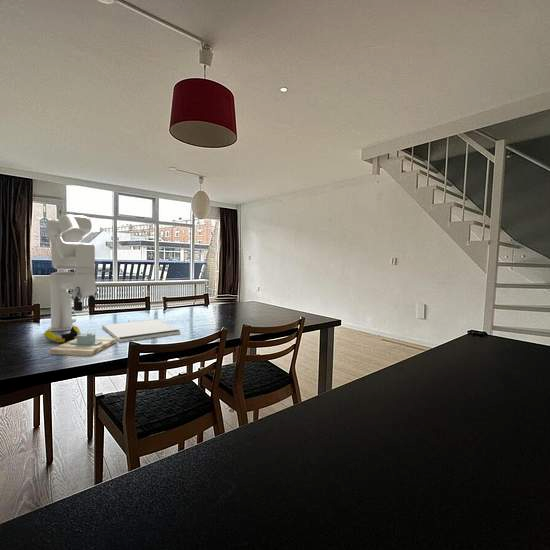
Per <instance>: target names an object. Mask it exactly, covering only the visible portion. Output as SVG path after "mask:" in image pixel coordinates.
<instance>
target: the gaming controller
mask: <svg viewBox="0 0 550 550" xmlns="http://www.w3.org/2000/svg"><path fill="white" fill-rule="evenodd" d="M80 334H82V333H81V331H80V329H79V327H78V326H76V325H75V326H73V327H72V328H71V330H70V331H69V332H68V333H62V334H58V335H57V334H55V333H54V332H53V331H50V330H48V329H47V330H45V331H44V335H43V336H44V337H45V339H47V340H49V341H50V342H53V343H55V344H61V343H66V342H69V341H71V340H74V339H76V338H77V336H78V335H80ZM60 342H61V343H60Z"/></svg>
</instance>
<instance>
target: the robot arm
mask: <svg viewBox="0 0 550 550" xmlns="http://www.w3.org/2000/svg"><path fill="white" fill-rule="evenodd" d="M92 226H93V225H92V221H91V219H90V218H89V217H87V216H85V215H76V214H75V215H74V214H62V215H60V216H59V217H58V219H50V220H48V221H47V222H46V224H45V227H46V229H45V230H46V234H47V237H48V239H49V241H50V246H51V251H50V254H51V256H50V257H51V265H52V268H54V269H55V270H74V271H55V272H52V273H50V274H49V276H48V285H49V289H50V290H49V291H50V326H48V327H47V330H50V331H51V332H63V331H64V332H65V331H69V330H70V331H71V328H72V327H73V326H76V325H75V324H74V323H77V319H76V318H73V317H72V316H73V315H72V314H73V313H72V312H73V311H72V309H74V311H75V312H82V311H83V299H84V298H86V297H88V298H87V307H88V308H95V307H96V299H97V295H98V290H99V289H98V287H96V286H97V284H96V276H95V274H96V248H95V247H96V246H95V245H94V244H93V243H87V242H79V241H81V240H82V238H83V237H85V236H86V235H87V234H89V233H90V232H91V230H92ZM67 290H72V292H71V293H69V292H68V291H67ZM72 300H73V302H74V303H73V306H74V307H73V306H72ZM72 307H73V308H72Z"/></svg>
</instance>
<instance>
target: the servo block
mask: <svg viewBox="0 0 550 550" xmlns="http://www.w3.org/2000/svg"><path fill="white" fill-rule="evenodd" d="M95 338H96V333H93V332H92V331H91V332H87V333H81V334H80V335H78V336H77V341H74V342H72V343H70V344H73V345H84V346H91V345H99V344H101V343H102V342H99V341H95Z"/></svg>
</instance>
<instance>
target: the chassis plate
mask: <svg viewBox="0 0 550 550" xmlns="http://www.w3.org/2000/svg"><path fill="white" fill-rule="evenodd" d="M74 341H77V338H76V339H74V340H71V341H67V342H63V344H59V345H57V346H54V347H52V348H50V349H49V354H50V355H65V356H66V355H67V356H71V355H72V356H88V355H89V357H90V356H94V355H96V354H98V353H99V351H100V352H102V351H103V350H105V349H107V348H109V347H111V346H113V345H114V343H115V344H116V342H118V341H117V339H116V338H114V337H112V338H111V337H95V341H99V342H102V343H101V344H99V345H91V346H84V345H73V344H70V343H72V342H74ZM112 344H113V345H112ZM110 345H111V346H110ZM101 350H102V351H101Z"/></svg>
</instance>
